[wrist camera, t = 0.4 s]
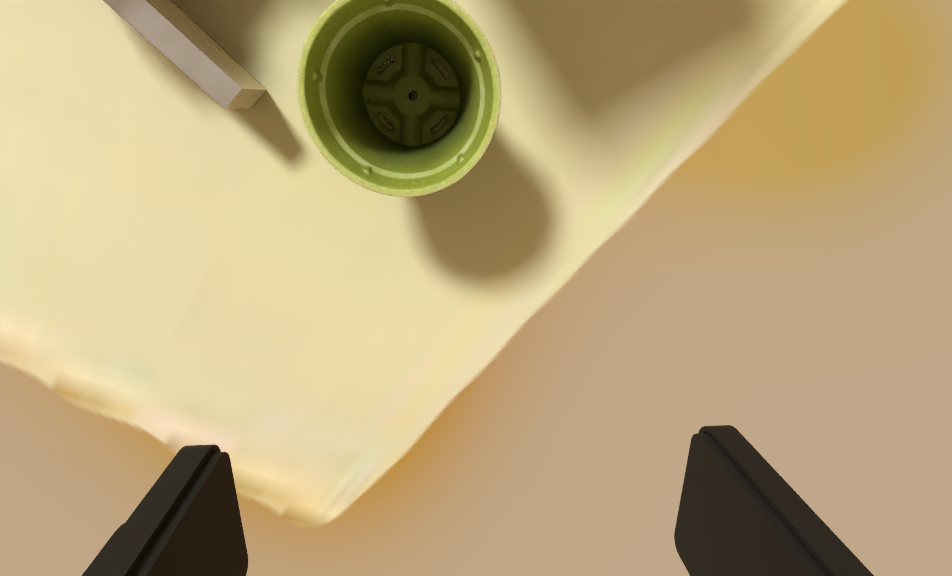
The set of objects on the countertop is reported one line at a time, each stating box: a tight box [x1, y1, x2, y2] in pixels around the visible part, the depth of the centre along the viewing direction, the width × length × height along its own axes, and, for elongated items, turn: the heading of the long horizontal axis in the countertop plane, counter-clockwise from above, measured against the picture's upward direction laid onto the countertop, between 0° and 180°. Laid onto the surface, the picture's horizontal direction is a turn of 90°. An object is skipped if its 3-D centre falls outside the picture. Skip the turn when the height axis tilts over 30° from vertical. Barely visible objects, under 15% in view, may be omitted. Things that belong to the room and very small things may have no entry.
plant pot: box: [297, 0, 501, 197], centre depth 28 cm, size 9×9×9 cm
